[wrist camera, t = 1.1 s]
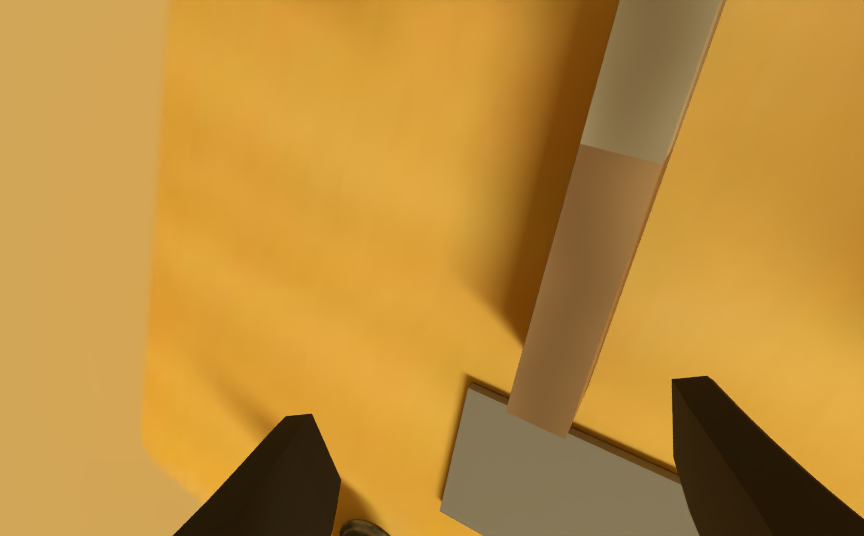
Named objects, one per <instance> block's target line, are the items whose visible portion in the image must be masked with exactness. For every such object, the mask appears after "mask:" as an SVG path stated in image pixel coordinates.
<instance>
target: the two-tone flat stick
mask: <svg viewBox="0 0 864 536" xmlns="http://www.w3.org/2000/svg"><path fill="white" fill-rule="evenodd" d="M725 2H726V0H620V1H619V5H618V8H617V12H616V15H615V19H614V23H613V26H612V30H611V34H610V37H609V41H608V44H607V48H606V52H605V55H604V59H603V62H602V66H601V70H600V73H599V77H598V80H597V84H596V88H595V91H594V95H593V98H592V102H591V106H590V109H589V113H588V116H587V120H586V124H585V127H584V131H583V134H582V138H581V142H580V145H579V149H578V152H577V156H576V160H575V163H574V167H573V171H572V174H571V178H570V181H569V185H568V189H567V192H566V196H565V199H564V203H563V207H562V210H561V214H560V217H559V221H558V225H557V228H556V232H555V235H554V239H553V243H552V246H551V250H550V253H549V257H548V261H547V264H546V268H545V271H544V275H543V279H542V282H541V286H540V290H539V293H538V297H537V300H536V304H535V308H534V311H533V315H532V318H531V322H530V326H529V329H528V333H527V336H526V340H525V344H524V347H523V351H522V354H521V358H520V362H519V365H518V369H517V372H516V376H515V380H514V383H513V387H512V390H511V394H510V398H509V401H508V405H507V408H506V412H507V413H509V414H511V415H514V416H516V417H518V418H520V419H522V420H524V421H527V422H529V423H531V424H533V425H535V426H537V427H540V428H542V429H544V430H546V431H548V432H550V433H553V434H555V435H557V436H559V437H561V438H563V439H565V438H566V436H567V434H568V431H569V429H570V427H571V425H572V422H573V420H574V418H575V415H576V413H577V411H578V408H579V406H580V404H581V401H582V399H583V397H584V394H585V392H586V390H587V388H588V385H589V382H590V379H591V377H592V374H593V371H594V368H595V365H596V363H597V360H598V357H599V354H600V352H601V349H602V346H603V343H604V340H605V338H606V335H607V332H608V329H609V326H610V324H611V321H612V318H613V315H614V312H615V310H616V307H617V304H618V301H619V298H620V296H621V293H622V290H623V287H624V284H625V282H626V279H627V276H628V273H629V270H630V268H631V265H632V262H633V259H634V256H635V254H636V251H637V248H638V245H639V242H640V240H641V237H642V234H643V231H644V228H645V226H646V223H647V220H648V217H649V214H650V212H651V209H652V206H653V203H654V200H655V198H656V195H657V192H658V189H659V186H660V184H661V181H662V178H663V175H664V172H665V170H666V167H667V164H668V161H669V158H670V156H671V153H672V150H673V147H674V144H675V142H676V139H677V136H678V133H679V131H680V128H681V125H682V122H683V119H684V117H685V114H686V111H687V108H688V105H689V103H690V100H691V97H692V94H693V91H694V89H695V86H696V83H697V80H698V77H699V75H700V72H701V69H702V66H703V63H704V61H705V58H706V55H707V52H708V49H709V47H710V44H711V41H712V38H713V35H714V33H715V30H716V27H717V24H718V21H719V19H720V16H721V13H722V10H723V7H724V5H725Z"/></svg>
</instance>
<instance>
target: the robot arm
mask: <svg viewBox="0 0 864 536" xmlns="http://www.w3.org/2000/svg"><path fill="white" fill-rule="evenodd" d="M672 413H673V457H674V461H675V464H676V468H677V471H678V475H679V478H680V482H681V485H682V489H683V492H684V495H685V499H686V502H687V505H688V509H689V512H690V514H691V517H692V519H693V522H694V524H695V526H696V529H697V531H698V534H699V536H864V519H863V518H862V517H861V516H859V515H858V514H857V513H856V512H855V511H853V510H852V509H851V508H850V507H849V506H847V505H846V504H845V503H844V502H842V501H841V500H840V499H839V498H838V497H836V496H835V495H834V494H833V493H832V492H830V491H829V490H828V489H827V488H826V487H825V486H823V485H822V484H821V483H820V482H819V481H818V480H816V479H815V478H814V477H813V476H812V475H811V474H810V473H808V472H807V471H806V470H805V469H804V468H803V467H802V466H801V465H800V464H799V463H797V462H796V461H795V460H794V459H793V458H792V457H791V456H790V455H789V454H787V453H786V452H785V451H784V450H783V449H782V448H781V447H780V446H779V445H778V444H776V443H775V442H774V441H773V440H772V439H771V438H770V437H769V436H768V435H767V434H766V433H765V432H764V431H763V430H762V429H761V428H760V427H759V426H758V425H757V424H756V423H755V422H754V421H753V420H752V419H750V418H749V417H748V416H747V415H746V414H745V413H744V412H743V411H742V410H741V409H740V408H739V407H738V406H737V405H736V403H735V402H734V401H733V400H732V399H731V398H730V397H729V396H728V395H727V394H726V393H725V392H724V391H723V390H722V389H721V388H720V387H719V386H718V385H717V384H716V383H715V382H714V380H712V379H711V378H709V377H708V376H700V377H690V378H680V379H672ZM340 483H341V479H340V476H339V474H338V472H337V470H336V467H335V465H334V463H333V461H332V458H331V456H330V454H329V451H328V449H327V447H326V445H325V442H324V440H323V438H322V436H321V433H320V431H319V429H318V426H317V424H316V422H315V420H314V417H313V415H312V414H304V415H294V416H286V417H285V418H284V419H283V420H282V421H281V422H280V423H279V424H278V425H277V426H276V427H275V428H274V429H273V430H272V431H271V432H270V433H269V434H268V435H267V436H266V438H265V439H264V440H263V441H262V442H261V443H260V444H259V445H258V446H257V447H256V449H255V450H254V451H253V452H252V453H251V454H250V455H249V456H248V457H247V458H246V460H245V461H244V462H243V463H242V464H241V465H240V466H239V467H238V468H237V469H236V471H235V472H234V473H233V474H232V475H231V476H230V477H229V478H228V479H227V480H226V481H225V482H224V483H223V485H222V486H221V487H220V488H219V489H218V490H217V491H216V492H215V493H214V494H213V495H212V496H211V498H210V499H209V500H208V501H207V502H206V503H205V504H204V505H203V506H202V507H201V508H200V509H199V510H198V511H197V512H196V513H195V514H194V515H193V516H192V517H191V518H190V519H189V520H188V521H187V522H186V523H185V524H184V525H183V526H182V527H181V528H180V529H179V530H178V531H177V532H176V533H175V534H174V535H173V536H331V533H332V529H333V524H334V519H335V514H336V508H337V502H338V496H339V489H340Z"/></svg>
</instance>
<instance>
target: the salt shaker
mask: <svg viewBox="0 0 864 536" xmlns="http://www.w3.org/2000/svg"><path fill="white" fill-rule="evenodd" d="M340 536H389V535H388V534H387V533H386V532H385V531H383V530H382V529H381V528H379V527H378V526H376V525H374V524H372V523H370V522H367V521H364V520H355V519H354V520H351V521H348V522H347V523H345V524H344V525H343V526H342V528H341V531H340Z"/></svg>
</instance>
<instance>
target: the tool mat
mask: <svg viewBox="0 0 864 536" xmlns="http://www.w3.org/2000/svg"><path fill="white" fill-rule="evenodd" d="M508 401H509V399H507V398H505V397H503V396H501V395H498V394H496V393H494V392H492V391H490V390H487V389H485V388H483V387H481V386H478V385H476V384H474V383H472V384H471V385H470V386H469V387H468V391H467V395H466V399H465V404H464V408H463V412H462V417H461V421H460V425H459V430H458V434H457V438H456V443H455V447H454V451H453V456H452V460H451V464H450V469H449V473H448V477H447V482H446V486H445V490H444V495H443V499H442V503H441V508H440V512H442V513H444V514H446V515H447V516H449V517H451V518H453V519H455V520H456V521H458V522H460V523H462V524H464V525H465V526H467V527H469V528H471V529H473V530H474V531H476V532H478V533H480V534H482V535H483V536H699V534H698V531H697V529H696V526H695V524H694V522H693V519H692V517H691V514H690V512H689V509H688V505H687V502H686V499H685V495H684V492H683V489H682V485H681V482H680V478H679V476H678V475H676V474H674V473H672V472H670V471H667V470H665V469H663V468H661V467H658V466H656V465H654V464H652V463H650V462H647V461H645V460H643V459H641V458H638V457H636V456H634V455H632V454H630V453H627V452H625V451H623V450H621V449H618V448H616V447H614V446H612V445H610V444H607V443H605V442H603V441H601V440H598V439H596V438H594V437H592V436H590V435H587V434H585V433H583V432H581V431H578V430H576V429H574V428H572V427H570V429H569V431H568V434H567V436H566V438H565V439H563V438H561V437H559V436H557V435H555V434H553V433H550V432H548V431H546V430H544V429H542V428H540V427H537V426H535V425H533V424H531V423H529V422H527V421H524V420H522V419H520V418H518V417H516V416H514V415H511V414H509V413H507V412H506V408H507V405H508Z"/></svg>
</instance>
